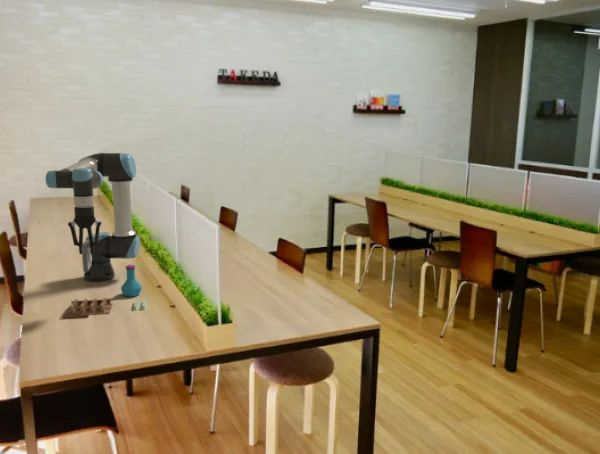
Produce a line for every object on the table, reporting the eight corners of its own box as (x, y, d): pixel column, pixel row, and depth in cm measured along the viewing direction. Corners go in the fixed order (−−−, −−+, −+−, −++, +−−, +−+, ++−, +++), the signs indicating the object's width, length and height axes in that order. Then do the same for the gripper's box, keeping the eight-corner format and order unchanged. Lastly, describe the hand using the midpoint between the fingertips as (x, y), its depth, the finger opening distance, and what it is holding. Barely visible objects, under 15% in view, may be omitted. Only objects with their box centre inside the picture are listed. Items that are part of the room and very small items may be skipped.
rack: (69, 308, 240) (69, 298, 239) (112, 305, 244) (112, 296, 243) (63, 318, 228) (62, 308, 227) (109, 316, 232) (108, 306, 231)
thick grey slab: (87, 265, 237) (85, 240, 235) (91, 265, 237) (90, 240, 235) (83, 271, 227) (81, 245, 225) (88, 271, 228) (86, 245, 226)
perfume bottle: (121, 300, 251) (119, 268, 249) (121, 294, 260) (120, 263, 257) (141, 299, 254) (140, 267, 251) (142, 293, 263) (140, 262, 260)
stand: (134, 304, 246) (133, 299, 246) (148, 303, 248) (147, 298, 247) (132, 312, 236) (131, 307, 235) (146, 312, 237) (146, 306, 237)
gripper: (62, 207, 222) (66, 264, 227) (101, 207, 225) (104, 263, 230) (66, 204, 229) (70, 259, 234) (104, 204, 232) (106, 258, 237)
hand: (87, 261), depth 232 cm, fingers closed on thick grey slab, 2 cm apart
